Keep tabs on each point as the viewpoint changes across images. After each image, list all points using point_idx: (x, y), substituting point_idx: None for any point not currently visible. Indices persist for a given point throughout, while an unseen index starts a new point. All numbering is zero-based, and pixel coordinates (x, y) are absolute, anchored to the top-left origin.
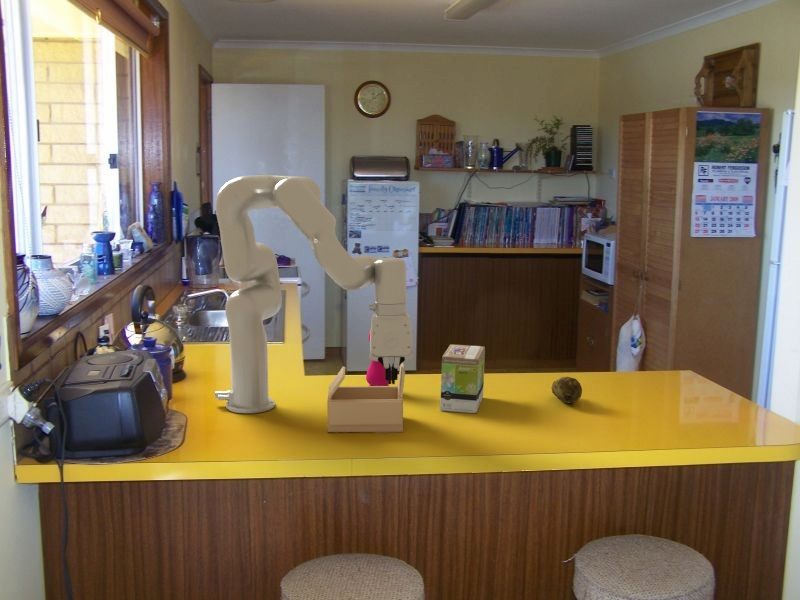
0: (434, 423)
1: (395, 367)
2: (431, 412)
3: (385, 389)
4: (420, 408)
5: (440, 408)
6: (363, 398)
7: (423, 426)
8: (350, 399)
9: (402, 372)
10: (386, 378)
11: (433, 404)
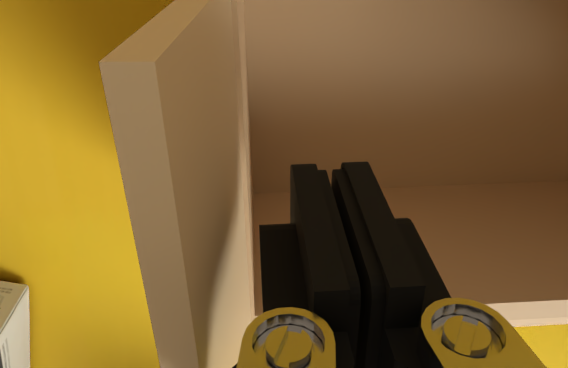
0: (25, 95)
1: (300, 328)
2: (74, 264)
3: None
4: (139, 312)
5: (22, 289)
6: (480, 247)
7: (87, 38)
8: (560, 240)
9: (157, 81)
10: (399, 223)
11: (81, 360)
